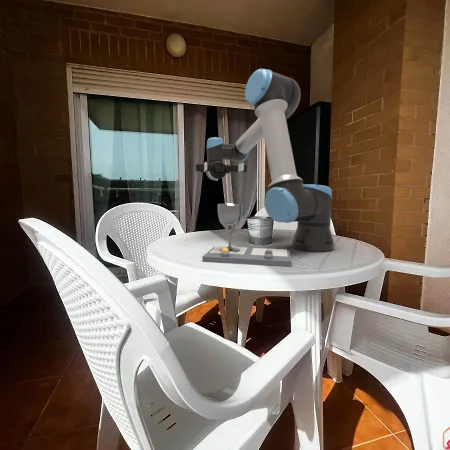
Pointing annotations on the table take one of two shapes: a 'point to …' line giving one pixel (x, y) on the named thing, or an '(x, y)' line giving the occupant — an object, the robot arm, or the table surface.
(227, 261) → the indicator board
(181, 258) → the table surface
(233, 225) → the wine glass
